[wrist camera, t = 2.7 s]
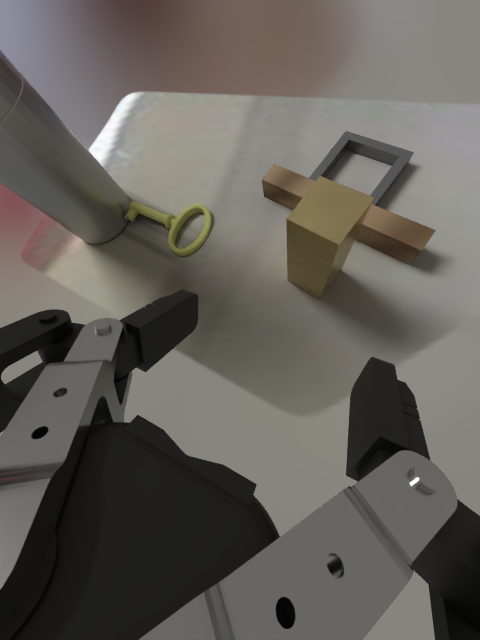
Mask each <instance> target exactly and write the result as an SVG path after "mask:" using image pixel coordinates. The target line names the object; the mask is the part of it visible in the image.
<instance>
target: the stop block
mask: <svg viewBox="0 0 480 640" xmlns="http://www.w3.org/2000/svg"><path fill="white" fill-rule="evenodd" d="M373 200H374V197H371V196H369V195H366V194H364V193H361V192H359V191H356V190H354V189H351V188H349V187H346V186H344V185H341V184H339V183H336V182H334V181H331V180H329V179H326V178H324V177H321V176H319V178H318V179H317V180H316V182H315V183H314V184H313V185H312V187H311V188H310V189H309V191H308V192H307V193H306V194H305V196H304V197H303V198H302V200H301V201H300V202H299V203H298V205H297V206H296V207H295V209H294V210H293V211H292V212H291V214H290V215H289V216H288V218H287V274H288V281H290V282H292V283H293V284H295V285H297V286H298V287H300V288H302V289H303V290H305V291H307V292H308V293H310V294H312V295H313V296H315V297H317V298H318V299H320V298H321V296H322V295H323V294H324V292H325V291H326V290H327V288H328V287H329V286H330V284H331V283H332V281H333V280H334V279H335V277H336V276H337V275H338V273H339V272H340V271H341V269H342V267H343V265H344V262H345V260H346V258H347V256H348V254H349V252H350V249H351V247H352V245H353V243H354V241H355V239H356V236H357V234H358V232H359V230H360V228H361V226H362V223H363V221H364V219H365V217H366V215H367V213H368V210H369V208H370V206H371V204H372V202H373Z"/></svg>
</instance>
